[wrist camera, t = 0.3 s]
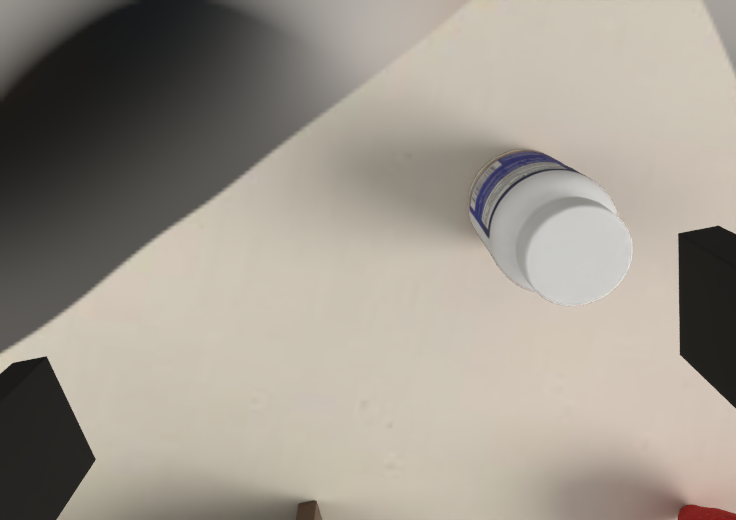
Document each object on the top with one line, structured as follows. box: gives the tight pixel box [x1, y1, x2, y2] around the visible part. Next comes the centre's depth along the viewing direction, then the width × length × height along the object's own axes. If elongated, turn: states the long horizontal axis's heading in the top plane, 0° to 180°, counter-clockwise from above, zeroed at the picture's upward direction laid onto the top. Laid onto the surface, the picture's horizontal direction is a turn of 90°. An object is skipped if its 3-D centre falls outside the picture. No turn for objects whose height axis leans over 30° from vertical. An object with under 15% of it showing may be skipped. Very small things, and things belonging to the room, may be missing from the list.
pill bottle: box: [468, 150, 633, 306], centre depth 24 cm, size 5×5×9 cm
